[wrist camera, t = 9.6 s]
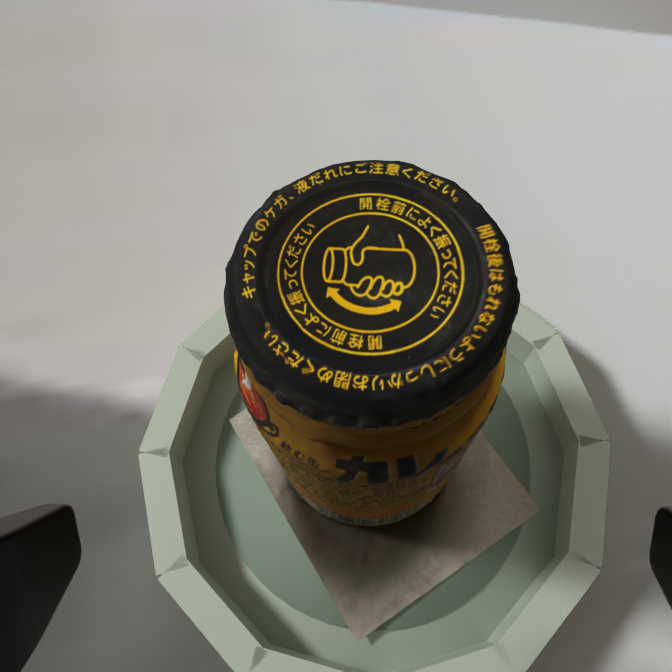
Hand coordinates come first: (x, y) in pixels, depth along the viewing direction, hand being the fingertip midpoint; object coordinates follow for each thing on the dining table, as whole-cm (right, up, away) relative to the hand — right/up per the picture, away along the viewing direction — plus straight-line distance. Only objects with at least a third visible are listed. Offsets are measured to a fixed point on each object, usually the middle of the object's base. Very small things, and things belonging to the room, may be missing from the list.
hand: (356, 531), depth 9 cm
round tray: (+1, -2, +12) cm, 12 cm away
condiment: (+1, -2, +12) cm, 12 cm away
